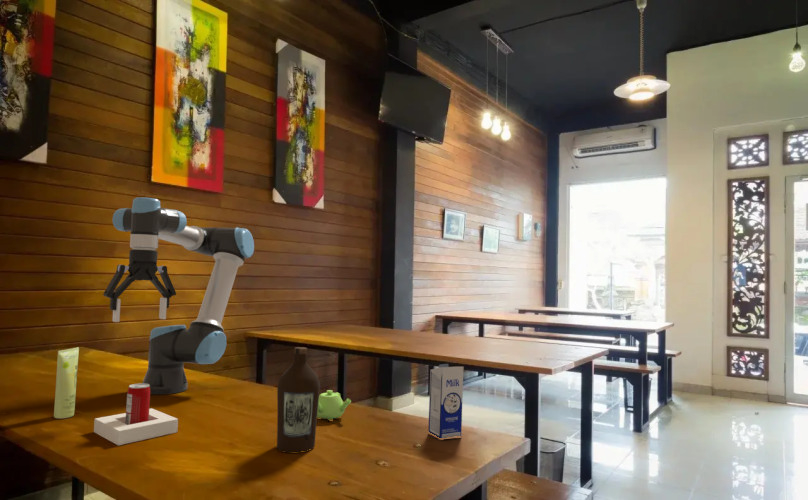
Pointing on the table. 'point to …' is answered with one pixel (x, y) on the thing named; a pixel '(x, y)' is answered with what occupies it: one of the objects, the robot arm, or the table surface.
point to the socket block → (135, 427)
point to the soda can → (137, 403)
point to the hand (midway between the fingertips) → (140, 320)
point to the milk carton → (446, 401)
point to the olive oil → (297, 405)
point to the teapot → (331, 405)
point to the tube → (66, 383)
